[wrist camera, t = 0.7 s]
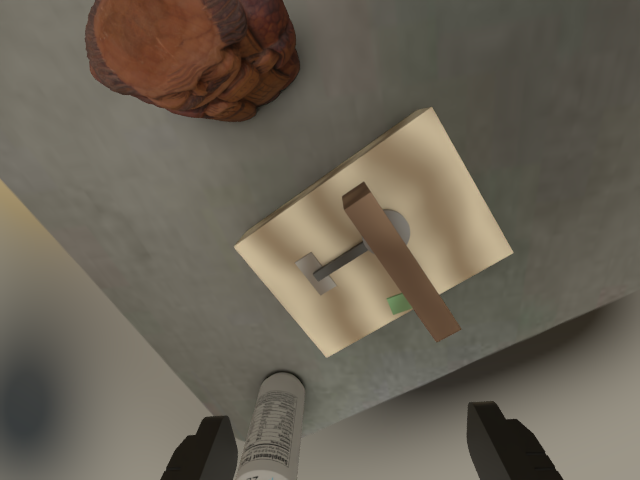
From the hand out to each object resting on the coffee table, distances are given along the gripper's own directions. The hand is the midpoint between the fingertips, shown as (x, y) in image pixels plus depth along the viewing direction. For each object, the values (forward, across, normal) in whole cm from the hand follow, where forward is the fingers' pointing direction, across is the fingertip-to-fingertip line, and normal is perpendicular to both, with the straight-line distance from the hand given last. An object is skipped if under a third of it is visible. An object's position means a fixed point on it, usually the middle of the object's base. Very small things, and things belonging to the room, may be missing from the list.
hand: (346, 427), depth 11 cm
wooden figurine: (+26, +7, -15) cm, 31 cm away
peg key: (+21, -2, +2) cm, 21 cm away
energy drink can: (+26, +10, +23) cm, 36 cm away
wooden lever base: (+26, -3, +2) cm, 27 cm away
